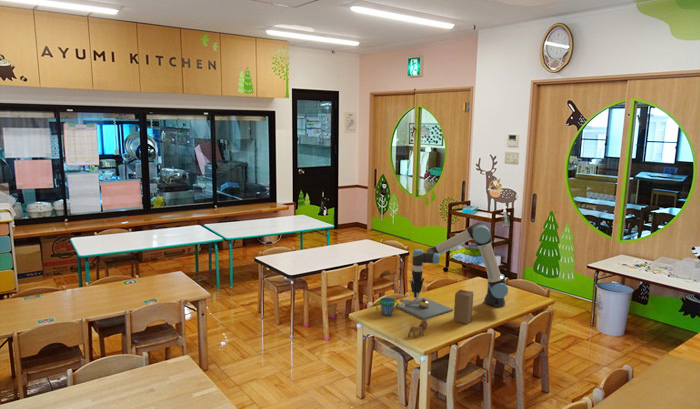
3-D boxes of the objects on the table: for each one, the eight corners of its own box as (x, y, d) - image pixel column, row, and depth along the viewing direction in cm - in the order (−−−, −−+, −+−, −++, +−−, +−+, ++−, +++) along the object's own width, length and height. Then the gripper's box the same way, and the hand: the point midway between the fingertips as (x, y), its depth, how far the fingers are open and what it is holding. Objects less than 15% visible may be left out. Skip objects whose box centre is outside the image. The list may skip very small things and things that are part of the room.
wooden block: (467, 324, 328) (469, 296, 324) (453, 321, 333) (454, 293, 330) (472, 319, 336) (474, 291, 333) (458, 316, 341) (459, 289, 338)
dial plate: (452, 311, 351) (452, 308, 351) (422, 320, 333) (422, 318, 333) (422, 298, 375) (422, 296, 375) (393, 306, 357) (393, 304, 357)
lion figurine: (423, 331, 315) (424, 318, 314) (429, 334, 311) (429, 321, 310) (405, 336, 308) (406, 322, 306) (410, 339, 303) (411, 325, 302)
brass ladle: (429, 305, 356) (429, 298, 355) (428, 308, 349) (428, 301, 348) (400, 302, 362) (400, 294, 361) (398, 305, 355) (398, 298, 354)
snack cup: (376, 316, 338) (376, 302, 337) (375, 310, 349) (376, 297, 347) (398, 317, 338) (399, 302, 337) (397, 311, 349) (398, 297, 347)
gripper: (420, 267, 365) (418, 298, 369) (407, 270, 358) (406, 301, 361) (427, 270, 359) (426, 300, 363) (414, 273, 352) (413, 304, 355)
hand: (416, 301), depth 362 cm, fingers closed
